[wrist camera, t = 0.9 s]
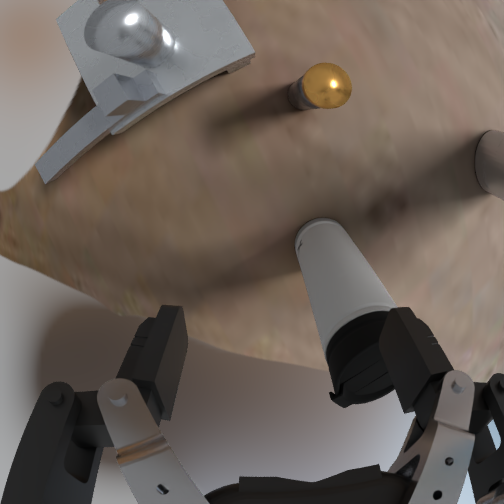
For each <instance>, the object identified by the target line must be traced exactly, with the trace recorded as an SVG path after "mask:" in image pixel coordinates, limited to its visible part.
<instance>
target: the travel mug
mask: <svg viewBox="0 0 504 504" xmlns="http://www.w3.org/2000/svg"><path fill="white" fill-rule="evenodd" d="M295 251H296V254H297V257H298V261H299V264H300V268H301V271H302V275H303V278H304V282H305V285H306V288H307V292H308V296H309V299H310V303H311V306H312V310H313V314H314V317H315V321H316V325H317V328H318V332H319V336H320V340H321V344H322V347H323V351H324V355H325V359H326V361H327V364H328V366H329V372H330V375H331V379H332V383H333V387H334V391H335V394H334V393H332V392H329V394H330V398H331V400H332V401H333V402H335V403H336V404H338V405H339V406H341V407H343V408H346V407H348V406H350V405H352V404H362V403H367V402H371V401H374V400H376V399H379V398H381V397H383V396H385V395H387V394H388V393H390V392H391V391H393V390H394V389H395V387H394V385H393V382H392V380H391V377H390V374H389V372H388V369H387V367H386V364H385V362H384V359H383V357H382V355H381V352H380V349H379V338H380V335H381V332H382V329H383V327H384V324H385V321H386V318H387V316H388V313H389V311H390V309H391V308H398V307H397V306H396V304H395V302H394V301H393V299H392V298H391V296H390V295H389V293H388V292H387V290H386V288H385V287H384V285H383V284H382V282H381V281H380V279H379V278H378V276H377V275H376V273H375V272H374V271H373V269H372V268H371V266H370V265H369V263H368V262H367V260H366V259H365V257H364V256H363V255H362V253H361V252H360V250H359V249H358V248H357V246H356V245H355V243H354V242H353V241H352V239H351V238H350V236H349V235H348V234H347V232H346V231H345V230H344V228H343V227H342V226H341V225H340V224H339V223H338V222H336V221H335V220H332V219H329V218H317V219H314V220H311V221H309V222H308V223H306V224H305V225H304V226H303V227H302V228H301V229H300V230H299V232H298V234H297V236H296V239H295Z"/></svg>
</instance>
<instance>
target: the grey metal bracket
mask: <svg viewBox="0 0 504 504" xmlns="http://www.w3.org/2000/svg"><path fill="white" fill-rule="evenodd" d="M56 21H57V23H58V26H59V28H60V30H61V32H62V35H63V37H64V39H65V42H66V44H67V46H68V48H69V50H70V52H71V55H72V57H73V59H74V61H75V63H76V65H77V67H78V70H79V72H80V74H81V76H82V78H83V80H84V82H85V84H86V86H87V88H88V90H89V92H90V94H91V96H92V98H93V100H94V102H95V104H96V106H95V107H94V108H93V109H92V110H91V111H89V112H88V113H87V114H86V115H85V116H84V117H82V118H81V119H80V120H79V121H78V122H77V123H76V124H75V125H74V126H72V127H71V128H70V129H69V130H68V131H67V132H66V133H65V134H64V135H63V136H62V137H61V138H60V139H59V140H58V141H57V142H56V143H55V144H54V145H53V146H52V147H51V148H50V149H49V150H48V151H47V152H46V153H45V154H44V155H43V156H42V157H41V158H40V159H39V161H38V162H37V163H36V164H35V166H36V168H37V169H38V171H39V173H40V175H41V177H42V179H43V181H44V183H45V184H47V183H49V182H51V181H53V180H55V179H57V178H58V177H59V176H60V175H61V174H62V173H63V172H65V171H66V170H67V169H68V168H69V167H70V166H71V165H72V164H73V163H74V162H76V161H77V160H78V159H79V158H80V157H81V156H82V155H84V154H85V153H86V152H87V151H88V150H89V149H91V148H92V147H93V146H94V145H96V144H97V143H98V142H99V141H101V140H102V139H103V138H104V137H106V136H107V135H108V134H109V133H111V134H112V135H115V134H120V133H122V132H124V131H125V130H127V129H128V128H129V127H131V126H132V125H134V124H135V123H137V122H138V121H139V120H141V119H142V118H144V117H145V116H147V115H148V114H150V113H151V112H153V111H155V110H156V109H158V108H159V107H161V106H162V105H164V104H166V103H167V102H169V101H171V100H172V99H174V98H176V97H177V96H179V95H181V94H182V93H184V92H186V91H188V90H189V89H191V88H193V87H195V86H197V85H198V84H200V83H202V82H204V81H206V80H208V79H210V78H212V77H214V76H215V75H217V74H219V73H221V72H223V71H226V70H227V71H228V73H231V72H234V71H236V70H238V69H240V68H242V67H244V66H247V65H249V64H250V59H252V58H254V57H255V51H254V49H253V48H252V46H251V44H250V43H249V41H248V39H247V38H246V36H245V34H244V33H243V31H242V29H241V28H240V26H239V25H238V23H237V22H236V20H235V18H234V17H233V15H232V14H231V12H230V11H229V9H228V8H227V6H226V5H225V3H224V2H223V0H107V1H105V2H104V1H103V0H78V1H77V2H75V3H74V4H73V5H72V6H71V7H69V8H68V9H67V10H66V11H65V12H64V13H63V14H61V16H59V17H58V18H57V19H56Z"/></svg>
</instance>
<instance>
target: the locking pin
mask: <svg viewBox="0 0 504 504" xmlns="http://www.w3.org/2000/svg"><path fill="white" fill-rule="evenodd" d="M351 91H352V85H351V81H350V78H349V76H348V75H347V73H346V72H345V71H344V70H343V69H342V68H340V67H339V66H337V65H335V64H331V63H319V64H316V65H314V66H313V67H311V68H310V69H309V70H308V71H307V72H306V73H305V74H304V75H303V76H302V77H301V78H299V79H298V80H297V81H296V82H294V83H293V84H292V85H291V86H290V88H289V90H288V99H289V101H290V103H291V104H292V105H293V106H294V107H296V108H297V109H301V110H309V109H317V108H323V109H331V108H337V107H340V106H342V105H343V104H345V103H346V102H347V101H348V99H349V97H350V95H351Z"/></svg>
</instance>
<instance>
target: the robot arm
mask: <svg viewBox="0 0 504 504" xmlns="http://www.w3.org/2000/svg"><path fill="white" fill-rule="evenodd" d="M475 170H476V175H477V179H478V181H479V184H480V185H481V187H482V188H483V189H484V190H485V191H487V192H489V193H491V194H493V195H495V196H496V197H498V198H500V199H502V200H504V132H500V131H496V130H491V131H488V132H487V133H485V134H484V135H483V137H482V138H481V139H480V142H479V144H478V147H477V150H476V156H475ZM187 348H188V336H187V330H186V324H185V318H184V311H183V308H182V306H171V305H162V306H161V308H160V310H159V312H158V314H157V317H156V318H151V317H148V318H147V319H146V320H145V321H144V322H143V323H142V324H141V325H140V326H139V328H138V330H137V332H136V334H135V338H133V340H132V343H131V346H130V347H129V349H128V351H127V354H126V356H125V358H124V361H123V363H122V365H121V367H120V370H119V372H118V374H117V376H116V378H115V379H112V380H110V381H108V382H106V383H105V384H103V385H102V386H101V388H100V389H99V390H98V391H87V392H74V390H73V389H72V387H71V386H70V385H69V384H67V383H64V382H54V383H51V384H49V385H48V386H46V387H45V388H44V389H43V390H42V392H41V394H40V396H39V398H38V400H37V403H36V405H35V407H34V409H33V412H32V414H31V416H30V418H29V421H28V423H27V426H26V428H25V430H24V433H23V435H22V438H21V441H20V443H19V446H18V449H17V452H16V454H15V457H14V460H13V463H12V466H11V469H10V472H9V475H8V479H7V482H6V485H5V489H4V493H3V496H2V500H1V504H91V502H92V497H93V492H94V487H95V482H96V477H97V473H98V469H99V464H100V460H101V456H102V452H103V448H104V447H115V449H116V451H117V454H118V456H117V457H116V459H117V462H118V465H119V467H120V469H121V471H122V473H123V475H124V477H125V480H126V481H127V483H128V485H129V487H130V489H131V491H132V493H133V495H134V496H135V498H136V500H137V502H138V504H457V502H458V499H459V497H460V494H461V491H462V488H463V484H464V481H465V477H466V474H467V471H468V473H469V477H470V480H471V484H472V489H473V493H474V498H475V503H476V504H504V374H501V373H496V374H494V375H493V376H492V377H491V378H490V380H489V381H488V382H487V383H479V382H473V380H472V379H471V377H470V376H469V375H467V374H466V373H464V372H462V371H459V370H454V369H453V367H452V365H451V364H450V362H449V360H448V358H447V357H446V355H445V353H444V351H443V350H442V348H441V346H440V345H439V344H438V341H437V340H436V338H435V337H434V335H433V333H432V331H431V330H430V328H429V327H428V326H427V325H426V324H425V323H424V322H423V321H422V320H420V319H417V318H416V316H415V315H414V313H413V311H412V310H411V309H410V308H409V307H398V308H391V309H390V311H389V313H388V316H387V318H386V321H385V324H384V327H383V329H382V332H381V335H380V338H379V349H380V352H381V355H382V357H383V359H384V362H385V364H386V367H387V369H388V372H389V374H390V377H391V380H392V382H393V385H394V387H395V390H396V393H397V395H398V398H399V401H400V403H401V406H402V409H403V412H404V413H409V412H413V411H415V414H416V416H415V418H414V419H413V421H412V424H411V427H410V429H409V432H408V434H407V437H406V439H405V441H404V444H403V446H402V448H401V451H400V453H399V455H398V457H397V459H396V461H395V462H394V463H393V464H392V466H391V467H390V469H389V470H388V472H384V471H381V470H380V466H379V464H377V465H373V466H368V467H363V468H357V469H352V470H347V471H345V472H342V473H339V474H337V475H334V476H331V477H329V478H326V479H323V480H320V481H317V482H304V481H298V480H291V479H285V478H280V477H239V483H236V484H231V485H227V486H223V487H221V488H218V489H216V490H214V491H211V492H210V493H208V494H206V495H205V496H203V494H202V493H201V492H200V490H199V489H198V488H197V486H196V485H195V484H194V482H193V481H192V479H191V478H190V476H189V475H188V473H187V472H186V471H185V469H184V468H183V466H182V465H181V463H180V461H179V460H178V458H177V457H176V455H175V454H174V452H173V450H172V449H171V447H170V446H169V444H168V442H167V441H166V439H165V438H164V436H163V435H162V433H161V431H160V430H159V425H160V421H161V419H163V420H169V421H170V419H171V415H172V411H173V406H174V402H175V398H176V394H177V390H178V385H179V381H180V377H181V373H182V369H183V365H184V361H185V357H186V353H187ZM492 420H494V422H495V425H496V427H497V430H498V432H499V435H500V437H501V444H500V447H499V448H498V449H497V450H496V448H495V445H494V442H493V439H492V436H491V434H490V431H489V429H488V426H487V425H488V424H489V423H490V422H491V421H492Z"/></svg>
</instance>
